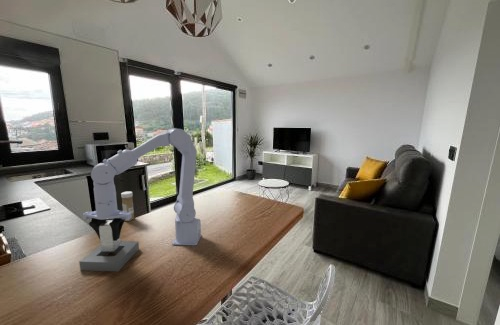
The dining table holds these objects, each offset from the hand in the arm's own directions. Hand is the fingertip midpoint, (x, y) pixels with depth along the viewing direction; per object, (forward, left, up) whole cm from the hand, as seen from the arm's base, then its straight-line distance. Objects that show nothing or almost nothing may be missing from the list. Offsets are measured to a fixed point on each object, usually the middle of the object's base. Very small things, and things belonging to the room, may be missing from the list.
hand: (109, 239), depth 70 cm
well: (0, 0, -7) cm, 7 cm away
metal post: (0, 0, -3) cm, 4 cm away
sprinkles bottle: (+11, -29, -8) cm, 32 cm away
